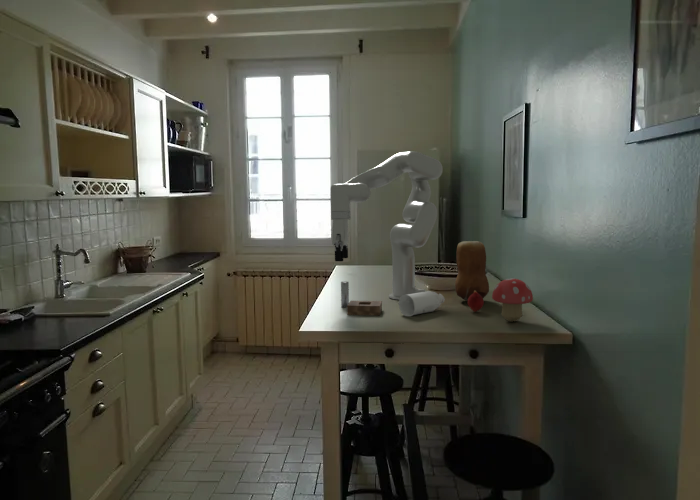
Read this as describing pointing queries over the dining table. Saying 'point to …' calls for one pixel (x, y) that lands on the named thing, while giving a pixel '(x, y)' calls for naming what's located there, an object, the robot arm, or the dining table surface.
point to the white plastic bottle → (420, 303)
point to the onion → (475, 301)
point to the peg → (344, 294)
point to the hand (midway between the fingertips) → (341, 259)
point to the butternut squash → (471, 270)
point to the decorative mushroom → (512, 297)
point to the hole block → (364, 308)
